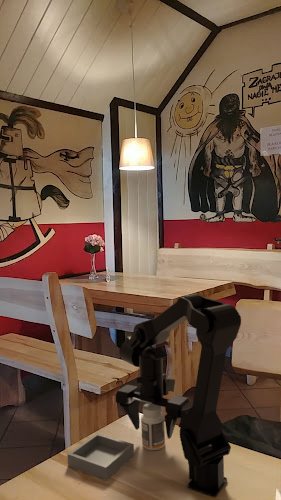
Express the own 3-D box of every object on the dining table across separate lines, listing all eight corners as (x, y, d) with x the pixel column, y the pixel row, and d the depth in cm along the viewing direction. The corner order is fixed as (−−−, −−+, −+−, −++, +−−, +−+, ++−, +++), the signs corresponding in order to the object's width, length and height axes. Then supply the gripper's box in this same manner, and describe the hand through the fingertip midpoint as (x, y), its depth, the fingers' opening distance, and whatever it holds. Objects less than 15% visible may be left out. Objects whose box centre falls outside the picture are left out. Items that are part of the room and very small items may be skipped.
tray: (134, 456, 106) (133, 444, 106) (106, 480, 97) (105, 467, 97) (97, 444, 112) (96, 432, 112) (68, 466, 103) (67, 454, 103)
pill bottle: (165, 439, 114) (164, 401, 113) (164, 451, 108) (163, 412, 107) (143, 439, 114) (141, 401, 113) (141, 451, 108) (139, 411, 108)
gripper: (200, 367, 111) (201, 428, 112) (136, 356, 121) (138, 412, 122) (179, 383, 102) (181, 449, 103) (112, 370, 112) (115, 429, 113)
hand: (153, 433), depth 111 cm, fingers open, 9 cm apart
